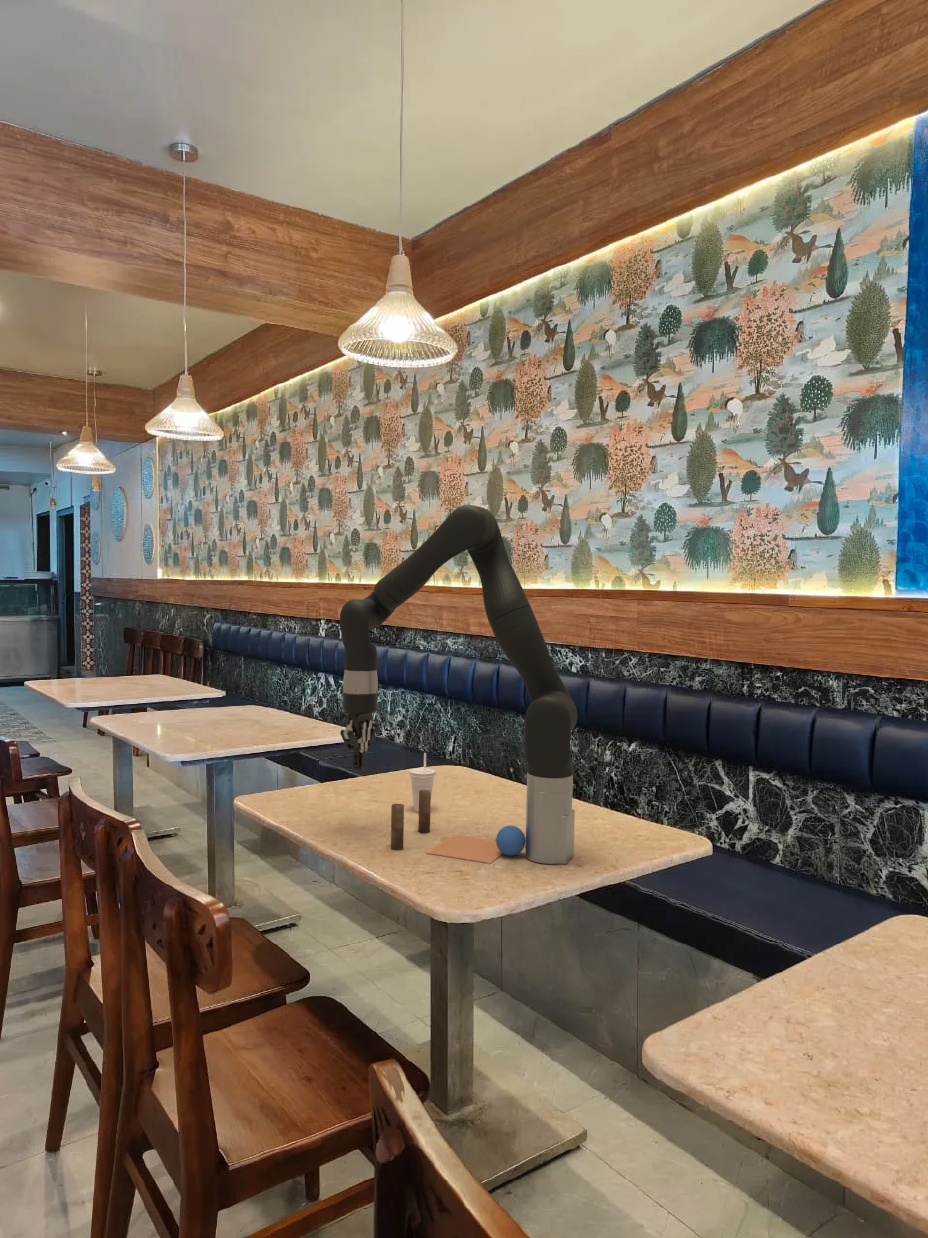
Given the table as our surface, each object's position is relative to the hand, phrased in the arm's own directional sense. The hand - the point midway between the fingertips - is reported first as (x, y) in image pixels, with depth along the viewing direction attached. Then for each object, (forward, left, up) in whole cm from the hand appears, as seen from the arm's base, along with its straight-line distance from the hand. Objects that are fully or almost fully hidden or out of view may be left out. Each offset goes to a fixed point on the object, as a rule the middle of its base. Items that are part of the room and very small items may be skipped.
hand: (359, 768), depth 187 cm
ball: (-36, 0, -11) cm, 37 cm away
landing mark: (-27, 0, -14) cm, 30 cm away
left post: (-13, +7, -14) cm, 20 cm away
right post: (-13, -6, -14) cm, 20 cm away
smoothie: (-5, -22, -14) cm, 27 cm away
